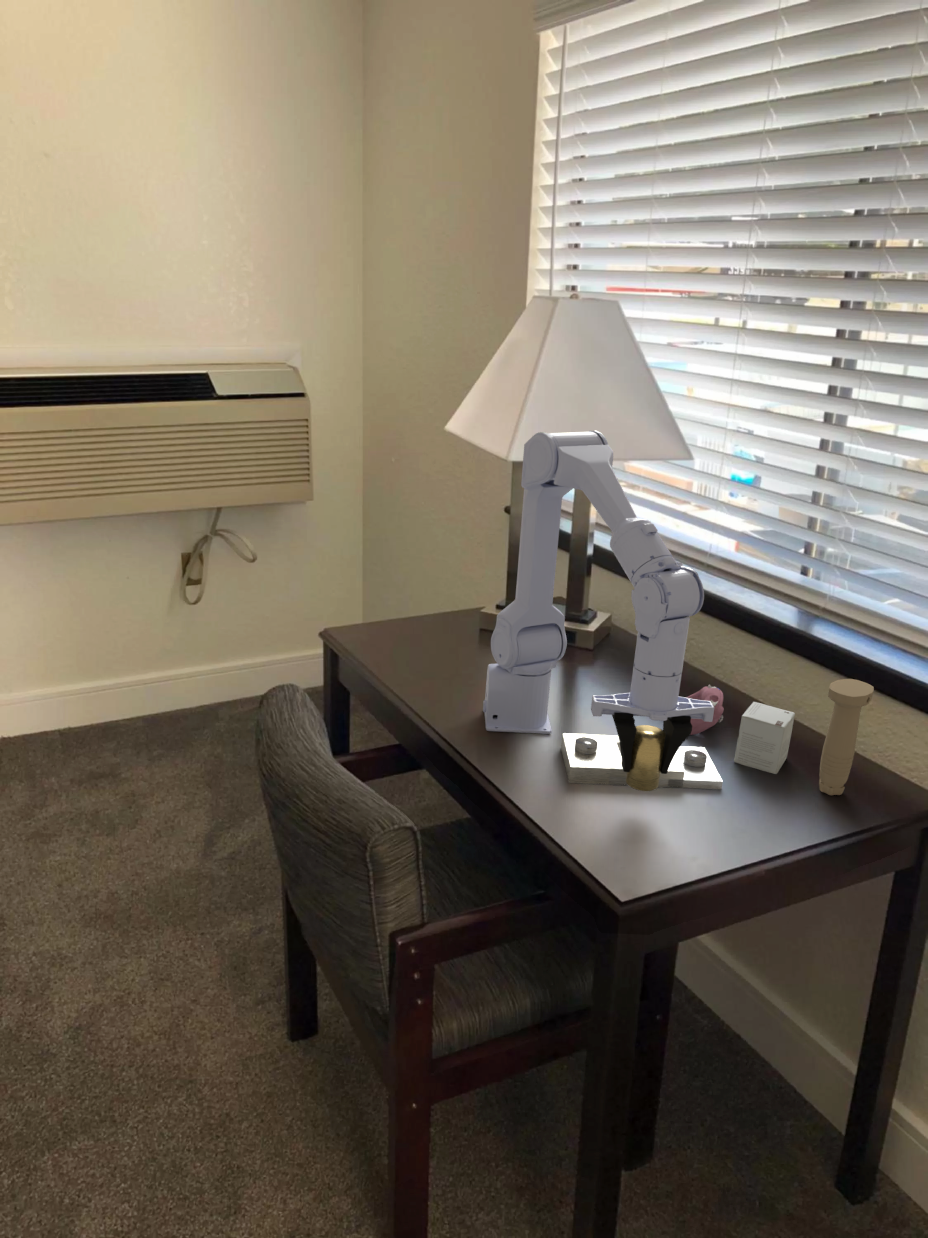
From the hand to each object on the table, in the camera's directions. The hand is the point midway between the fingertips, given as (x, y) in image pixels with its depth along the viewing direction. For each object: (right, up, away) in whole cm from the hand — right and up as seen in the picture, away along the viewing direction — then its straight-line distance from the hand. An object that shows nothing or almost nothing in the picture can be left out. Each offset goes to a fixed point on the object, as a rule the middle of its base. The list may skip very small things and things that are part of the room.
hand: (643, 769), depth 123 cm
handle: (+26, -4, +9) cm, 28 cm away
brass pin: (0, -2, +1) cm, 2 cm away
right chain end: (+4, -2, +12) cm, 13 cm away
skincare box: (+19, -2, +17) cm, 26 cm away
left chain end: (-1, -2, +12) cm, 12 cm away
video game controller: (+13, +2, +27) cm, 30 cm away
